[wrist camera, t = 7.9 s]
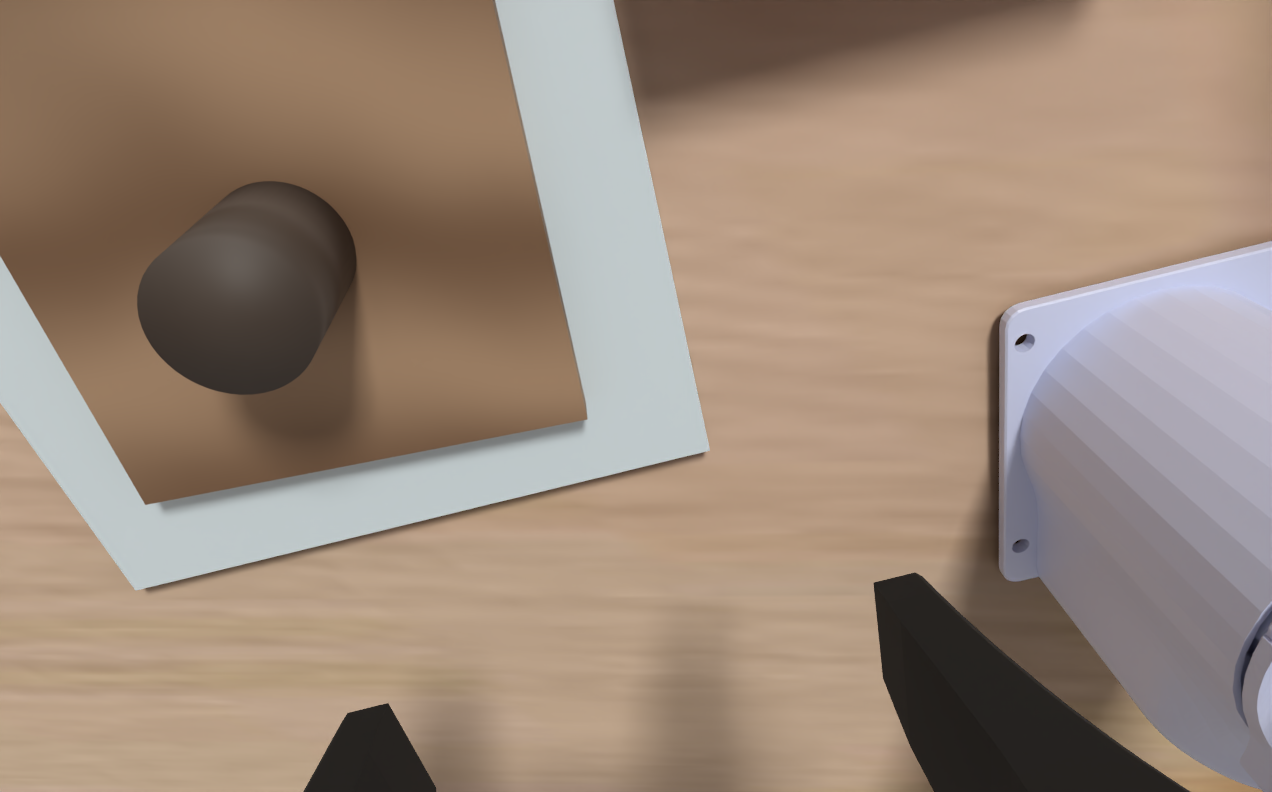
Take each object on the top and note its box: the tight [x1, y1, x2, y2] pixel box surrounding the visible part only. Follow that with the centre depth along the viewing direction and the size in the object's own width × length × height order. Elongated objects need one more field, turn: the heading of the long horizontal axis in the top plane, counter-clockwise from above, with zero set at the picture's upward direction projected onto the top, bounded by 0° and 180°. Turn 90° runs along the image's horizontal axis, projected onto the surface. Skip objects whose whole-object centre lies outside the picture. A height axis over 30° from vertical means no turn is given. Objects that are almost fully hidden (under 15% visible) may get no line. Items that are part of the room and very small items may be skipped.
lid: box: [0, 0, 588, 505], centre depth 16 cm, size 11×11×4 cm
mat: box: [0, 0, 710, 590], centre depth 19 cm, size 16×16×1 cm
